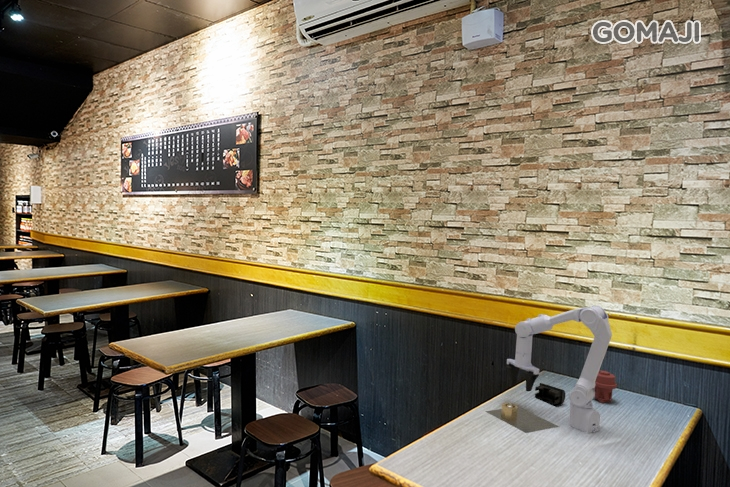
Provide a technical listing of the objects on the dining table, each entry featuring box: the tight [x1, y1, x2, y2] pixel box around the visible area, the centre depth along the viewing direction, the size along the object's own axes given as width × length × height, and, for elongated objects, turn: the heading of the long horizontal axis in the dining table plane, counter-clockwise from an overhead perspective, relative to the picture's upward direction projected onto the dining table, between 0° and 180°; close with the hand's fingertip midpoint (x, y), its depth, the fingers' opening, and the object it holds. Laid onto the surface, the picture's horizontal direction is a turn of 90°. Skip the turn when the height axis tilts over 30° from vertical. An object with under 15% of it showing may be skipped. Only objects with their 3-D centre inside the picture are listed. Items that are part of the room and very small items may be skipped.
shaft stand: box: [485, 405, 560, 434], centre depth 174 cm, size 20×16×6 cm
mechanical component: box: [594, 370, 618, 404], centre depth 204 cm, size 12×10×10 cm
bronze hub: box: [501, 402, 519, 420], centre depth 176 cm, size 5×5×4 cm
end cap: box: [534, 382, 566, 408], centre depth 198 cm, size 10×7×7 cm
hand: (521, 387), depth 185 cm, fingers open, 7 cm apart
